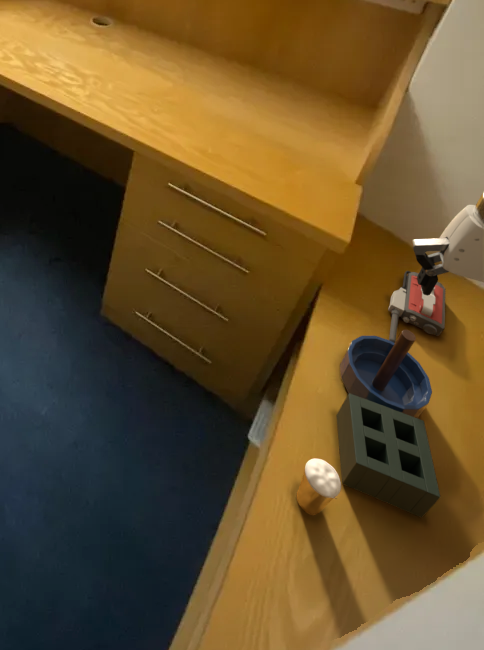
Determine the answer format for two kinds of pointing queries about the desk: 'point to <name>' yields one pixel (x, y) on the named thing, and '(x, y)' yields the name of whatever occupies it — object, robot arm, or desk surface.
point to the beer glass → (317, 486)
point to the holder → (386, 455)
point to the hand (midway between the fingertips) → (462, 298)
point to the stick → (393, 359)
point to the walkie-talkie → (417, 306)
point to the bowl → (402, 390)
